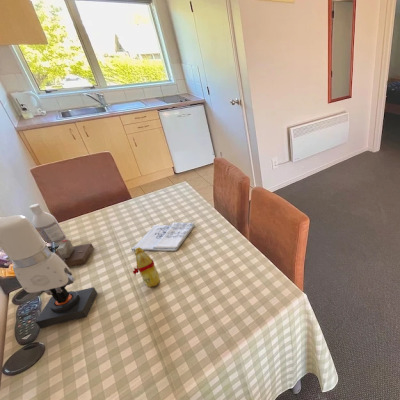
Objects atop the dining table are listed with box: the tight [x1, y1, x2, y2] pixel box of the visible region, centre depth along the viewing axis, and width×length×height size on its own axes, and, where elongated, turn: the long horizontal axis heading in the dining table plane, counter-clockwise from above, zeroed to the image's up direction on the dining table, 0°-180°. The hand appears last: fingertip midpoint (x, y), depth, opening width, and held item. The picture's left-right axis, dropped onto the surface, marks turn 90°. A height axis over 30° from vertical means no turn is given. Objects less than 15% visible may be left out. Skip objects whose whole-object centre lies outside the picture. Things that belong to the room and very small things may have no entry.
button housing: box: [35, 286, 99, 329], centre depth 86 cm, size 12×10×5 cm
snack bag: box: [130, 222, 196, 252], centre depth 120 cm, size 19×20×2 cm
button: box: [55, 294, 72, 306], centre depth 86 cm, size 4×4×2 cm
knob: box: [56, 239, 74, 259], centre depth 106 cm, size 6×2×5 cm, turn 19°
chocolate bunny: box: [132, 247, 161, 288], centre depth 95 cm, size 7×11×15 cm, turn 41°
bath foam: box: [29, 203, 69, 245], centre depth 112 cm, size 7×7×20 cm
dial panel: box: [54, 242, 95, 268], centre depth 108 cm, size 12×10×3 cm
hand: (63, 299), depth 85 cm, fingers closed
